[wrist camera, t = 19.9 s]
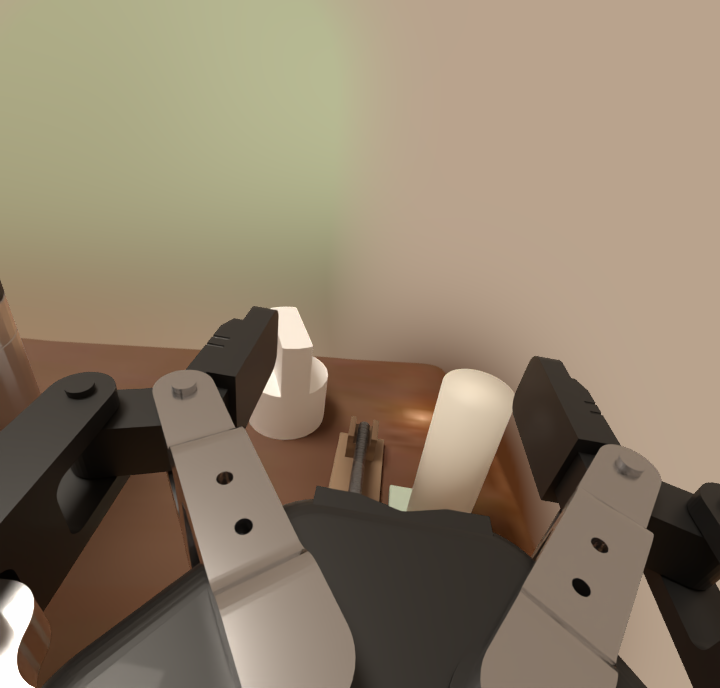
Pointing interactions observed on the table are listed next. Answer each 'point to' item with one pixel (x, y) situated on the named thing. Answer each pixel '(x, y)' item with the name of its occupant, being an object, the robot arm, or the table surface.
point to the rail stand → (345, 460)
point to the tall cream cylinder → (461, 441)
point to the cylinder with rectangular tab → (292, 384)
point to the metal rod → (359, 458)
